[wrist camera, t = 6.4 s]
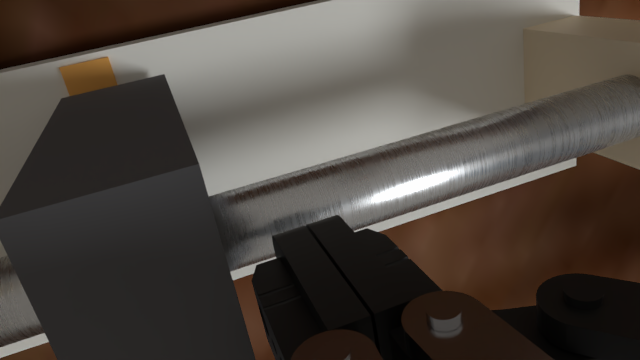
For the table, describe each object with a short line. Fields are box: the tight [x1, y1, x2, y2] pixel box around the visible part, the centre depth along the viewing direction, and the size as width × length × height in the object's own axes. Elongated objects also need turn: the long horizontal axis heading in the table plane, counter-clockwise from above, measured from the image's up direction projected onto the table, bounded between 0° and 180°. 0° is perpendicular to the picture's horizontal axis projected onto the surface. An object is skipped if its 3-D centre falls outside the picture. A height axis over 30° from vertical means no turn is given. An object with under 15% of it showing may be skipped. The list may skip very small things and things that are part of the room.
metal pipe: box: [0, 75, 640, 347], centre depth 14 cm, size 24×2×2 cm, turn 101°
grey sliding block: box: [0, 74, 255, 360], centre depth 13 cm, size 3×7×9 cm, turn 11°
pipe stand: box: [0, 0, 640, 358], centre depth 17 cm, size 26×9×7 cm, turn 101°
